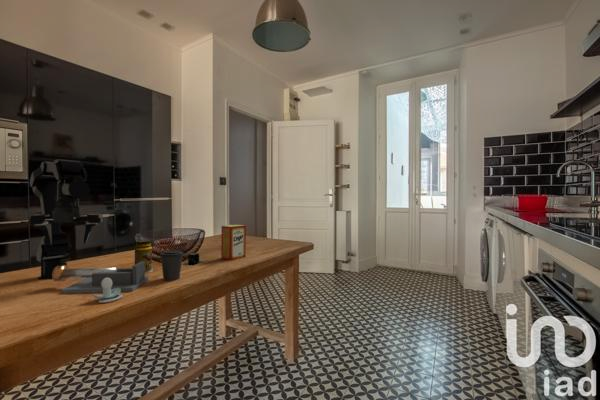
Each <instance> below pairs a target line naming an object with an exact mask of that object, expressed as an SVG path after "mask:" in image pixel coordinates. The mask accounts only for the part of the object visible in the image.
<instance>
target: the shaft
mask: <svg viewBox="0 0 600 400" xmlns="http://www.w3.org/2000/svg"><path fill="white" fill-rule="evenodd" d="M118 268H119V267H87V268H86V267H81V268H80V267H79V268H78V267H77V268H74V267H73V268H69V266H68V265H67V266H66V265H64V266H56V267H55V268H54V270H53V273H52V278H51V279H52V280H53V281H54V282H66V281H67V280H68V279H80V278H81V279H85V278H92V274H93V273H101V272H118Z"/></svg>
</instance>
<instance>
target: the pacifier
mask: <svg viewBox="0 0 600 400" xmlns="http://www.w3.org/2000/svg"><path fill="white" fill-rule="evenodd" d="M101 286H102V288H103V292H102V294H98V295H96V294H92V297H94V298H96V299H98V301H97V302H98V303H99V304H100V303H101V304H104V303H105V304H106V303H111V302H114V301H115V302H116V301H118V300H120V299H122V298H123V297H124V296H123V294H121V293H122V292H121V289H120V288H114V289H112V290H111V287H112V280H111V279H110V278H104V279H103V280H102V282H101Z"/></svg>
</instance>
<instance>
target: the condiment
mask: <svg viewBox="0 0 600 400" xmlns="http://www.w3.org/2000/svg"><path fill="white" fill-rule="evenodd" d="M141 261H145V274H146V273H152V272H154V269H153V247H152V241H151V240H150V239H143V240H142V239H141V240H137V241H135V249H134V265H135V264H137V263H139V262H141Z"/></svg>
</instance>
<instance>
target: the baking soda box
mask: <svg viewBox="0 0 600 400" xmlns="http://www.w3.org/2000/svg"><path fill="white" fill-rule="evenodd" d="M246 227H247V225H245V224H244V225H243V224H226V225H221V240H220V241H221V246H220V247H221V252H220V253H221V255H220V256H221V258H220V259H222V260H226V261H235V260H238V258H239V259H242V257H244V258H246V250H247V249H246V243H247V242H246V240H247V239H246V236H247V235H246V234H247V233H246V232H247V231H246V230H247V228H246ZM234 259H235V260H234Z"/></svg>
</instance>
